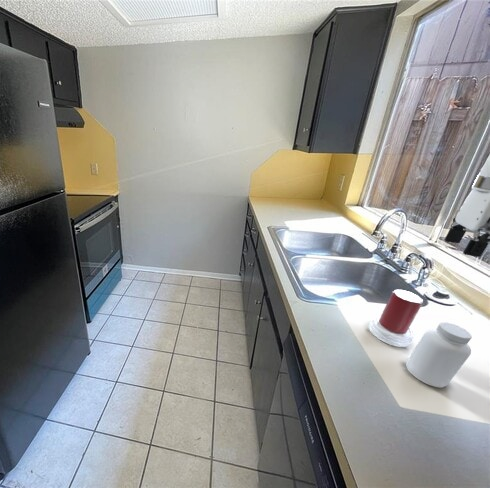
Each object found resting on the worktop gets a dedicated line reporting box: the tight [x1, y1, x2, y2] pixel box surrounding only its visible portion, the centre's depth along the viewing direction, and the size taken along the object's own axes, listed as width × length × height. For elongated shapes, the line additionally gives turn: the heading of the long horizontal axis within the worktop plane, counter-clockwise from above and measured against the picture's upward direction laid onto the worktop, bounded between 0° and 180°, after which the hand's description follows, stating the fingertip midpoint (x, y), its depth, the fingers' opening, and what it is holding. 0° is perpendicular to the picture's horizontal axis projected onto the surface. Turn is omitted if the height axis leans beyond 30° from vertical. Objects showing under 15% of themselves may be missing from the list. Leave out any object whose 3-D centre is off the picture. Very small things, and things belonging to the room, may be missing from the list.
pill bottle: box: [405, 322, 472, 388], centre depth 63 cm, size 8×8×15 cm
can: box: [379, 289, 424, 334], centre depth 75 cm, size 7×7×11 cm
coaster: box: [368, 315, 415, 348], centre depth 78 cm, size 10×10×4 cm
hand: (460, 248), depth 70 cm, fingers open, 9 cm apart
